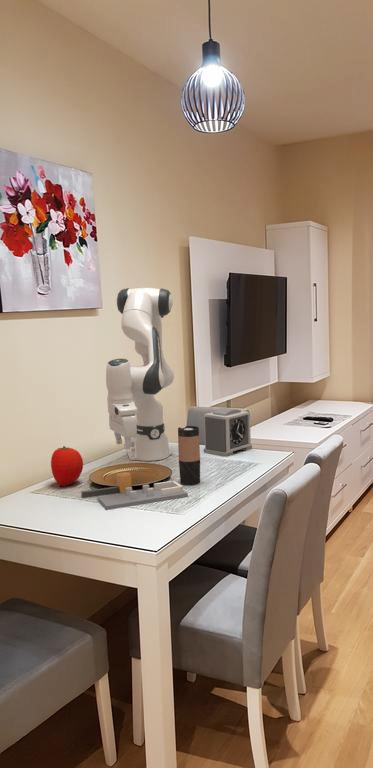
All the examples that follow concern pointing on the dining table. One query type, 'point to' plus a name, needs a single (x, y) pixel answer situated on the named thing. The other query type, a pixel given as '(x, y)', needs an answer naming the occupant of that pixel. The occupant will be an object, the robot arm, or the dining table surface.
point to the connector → (122, 484)
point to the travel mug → (189, 455)
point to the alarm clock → (227, 431)
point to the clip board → (143, 495)
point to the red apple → (66, 465)
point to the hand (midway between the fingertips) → (123, 446)
